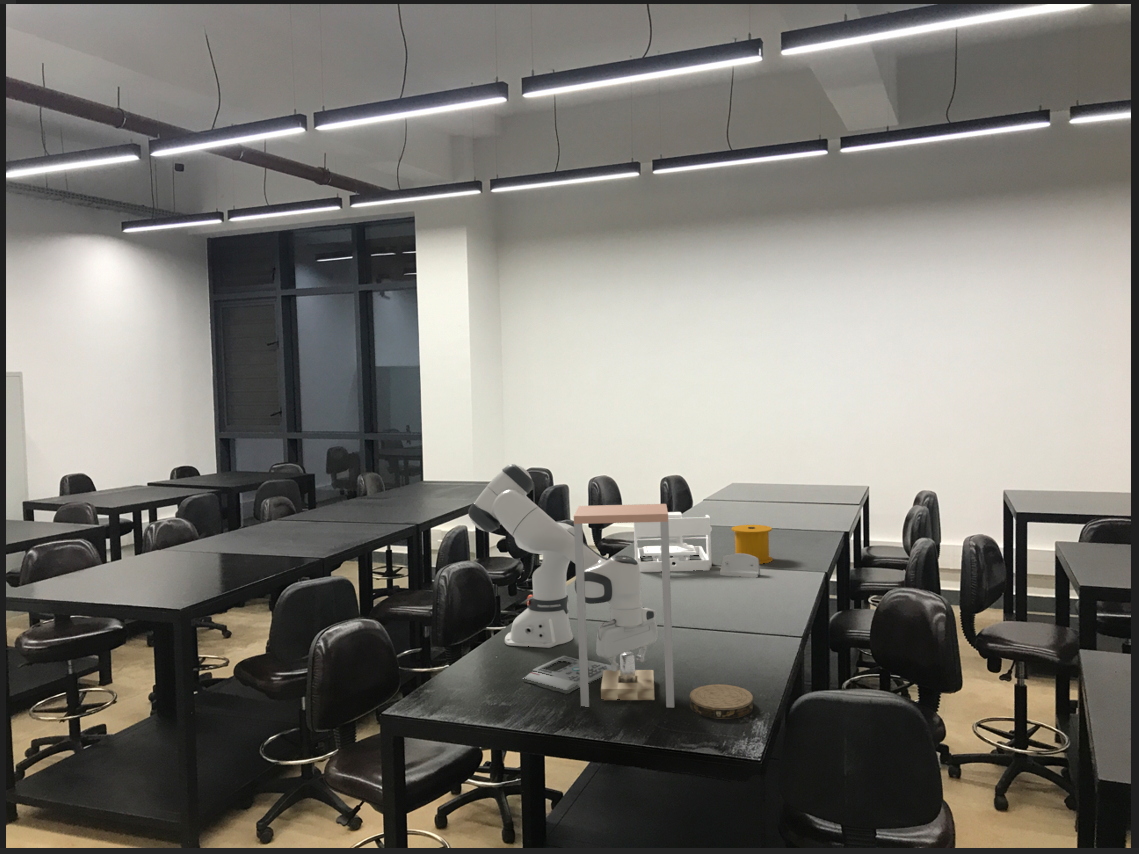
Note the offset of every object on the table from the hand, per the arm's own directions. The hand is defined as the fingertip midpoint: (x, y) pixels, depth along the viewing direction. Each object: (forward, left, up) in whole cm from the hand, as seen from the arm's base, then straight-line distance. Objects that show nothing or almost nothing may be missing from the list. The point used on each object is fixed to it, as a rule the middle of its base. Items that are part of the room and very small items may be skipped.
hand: (628, 665), depth 222 cm
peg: (0, 0, -7) cm, 7 cm away
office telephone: (-18, +12, -7) cm, 23 cm away
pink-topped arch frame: (0, -4, -7) cm, 8 cm away
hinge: (+45, +130, -7) cm, 138 cm away
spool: (+54, +157, -7) cm, 166 cm away
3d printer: (+17, +153, -7) cm, 155 cm away
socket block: (0, 0, -7) cm, 7 cm away
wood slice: (+24, -11, -7) cm, 27 cm away
